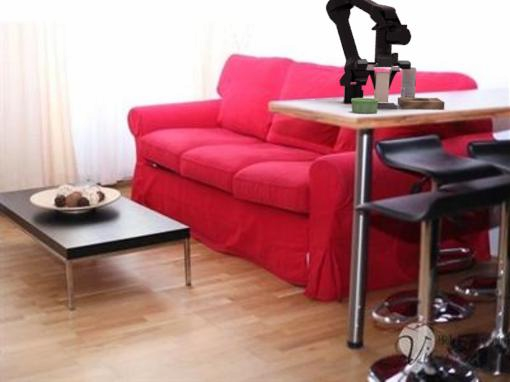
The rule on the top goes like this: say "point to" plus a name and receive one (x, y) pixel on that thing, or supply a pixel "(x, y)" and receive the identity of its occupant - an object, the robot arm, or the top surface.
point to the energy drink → (408, 83)
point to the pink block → (381, 86)
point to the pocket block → (421, 103)
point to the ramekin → (364, 105)
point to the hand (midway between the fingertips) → (381, 89)
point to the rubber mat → (386, 106)
